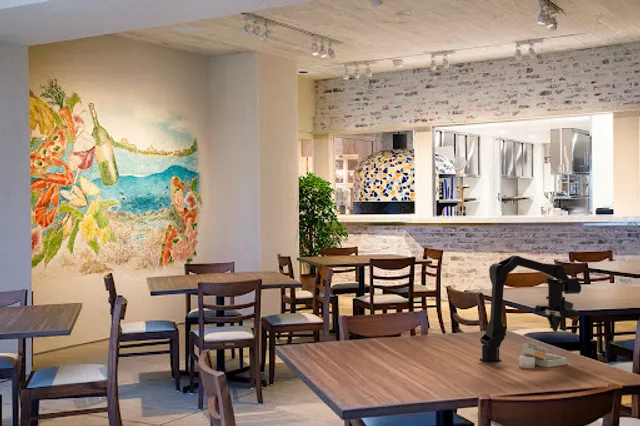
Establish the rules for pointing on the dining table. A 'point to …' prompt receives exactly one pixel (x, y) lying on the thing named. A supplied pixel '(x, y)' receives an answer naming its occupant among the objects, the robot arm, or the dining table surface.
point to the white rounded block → (526, 361)
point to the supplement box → (534, 350)
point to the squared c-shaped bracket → (551, 361)
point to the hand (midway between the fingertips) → (555, 331)
